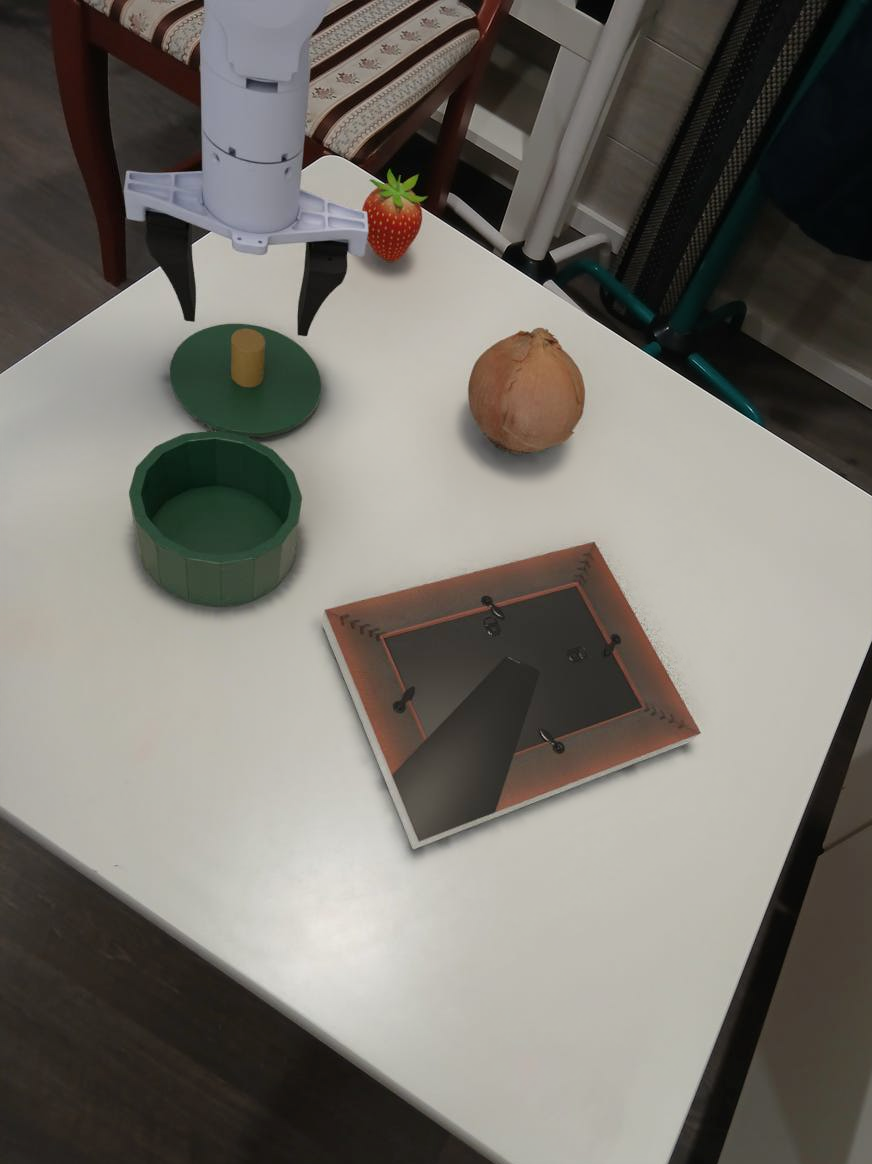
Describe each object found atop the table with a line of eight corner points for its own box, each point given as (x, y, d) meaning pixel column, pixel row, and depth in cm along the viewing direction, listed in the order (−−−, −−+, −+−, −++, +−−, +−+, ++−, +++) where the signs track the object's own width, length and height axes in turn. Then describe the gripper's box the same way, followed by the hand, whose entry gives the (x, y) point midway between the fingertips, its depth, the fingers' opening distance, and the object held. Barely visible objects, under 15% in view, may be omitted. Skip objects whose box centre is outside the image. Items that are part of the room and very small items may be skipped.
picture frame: (411, 852, 52) (686, 745, 60) (419, 841, 50) (702, 732, 58) (320, 625, 57) (583, 558, 66) (324, 607, 55) (595, 539, 64)
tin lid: (139, 395, 62) (133, 347, 58) (222, 313, 68) (222, 264, 64) (273, 466, 63) (276, 423, 59) (345, 378, 69) (352, 333, 65)
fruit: (404, 285, 76) (422, 205, 69) (349, 265, 75) (361, 182, 68) (418, 250, 78) (437, 169, 72) (365, 230, 78) (378, 147, 71)
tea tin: (105, 559, 56) (94, 510, 51) (194, 459, 61) (192, 407, 57) (244, 632, 56) (246, 590, 51) (321, 526, 61) (329, 479, 57)
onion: (488, 421, 75) (513, 304, 69) (584, 457, 72) (618, 339, 66) (435, 446, 67) (459, 318, 62) (540, 488, 64) (575, 357, 59)
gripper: (110, 150, 45) (132, 346, 56) (382, 199, 49) (351, 372, 60) (122, 73, 48) (141, 273, 59) (376, 125, 52) (348, 303, 63)
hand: (247, 318), depth 60 cm, fingers open, 7 cm apart
